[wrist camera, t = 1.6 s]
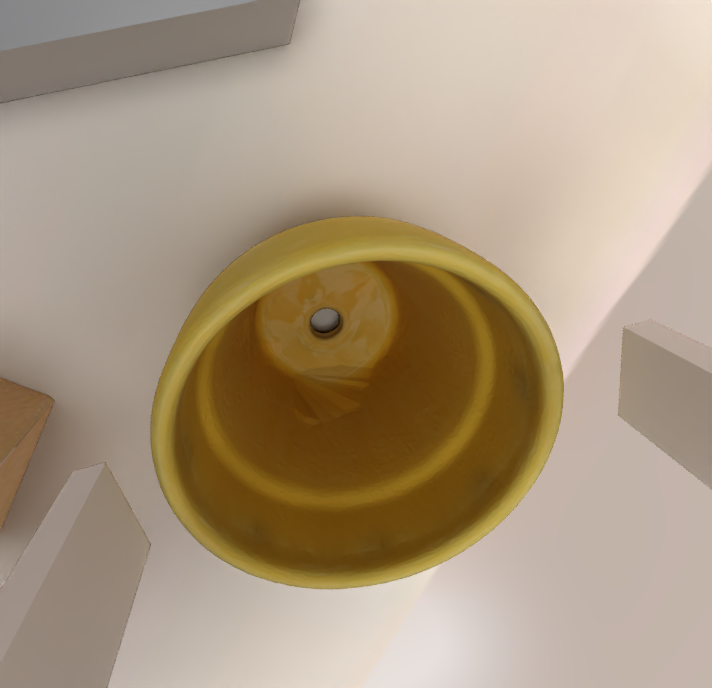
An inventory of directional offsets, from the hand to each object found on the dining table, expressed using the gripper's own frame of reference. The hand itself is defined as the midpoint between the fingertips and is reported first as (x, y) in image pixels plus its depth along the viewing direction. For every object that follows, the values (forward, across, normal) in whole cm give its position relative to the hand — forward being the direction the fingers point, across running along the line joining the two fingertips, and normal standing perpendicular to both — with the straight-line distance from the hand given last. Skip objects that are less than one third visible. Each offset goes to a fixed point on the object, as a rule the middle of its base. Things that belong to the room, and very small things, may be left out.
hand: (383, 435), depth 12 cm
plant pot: (+10, 0, 0) cm, 10 cm away
